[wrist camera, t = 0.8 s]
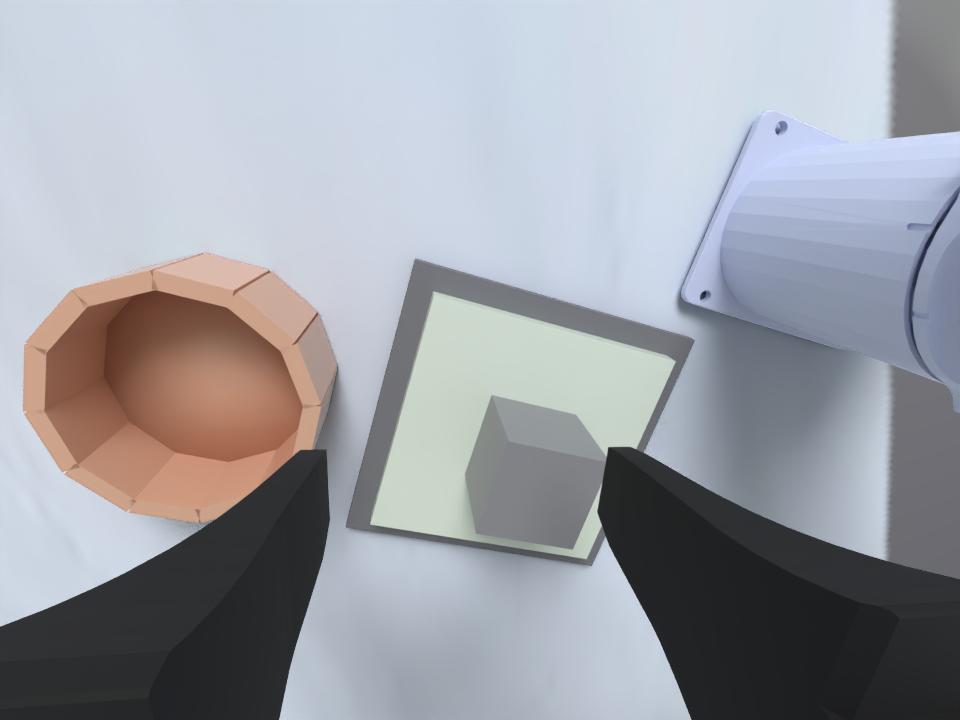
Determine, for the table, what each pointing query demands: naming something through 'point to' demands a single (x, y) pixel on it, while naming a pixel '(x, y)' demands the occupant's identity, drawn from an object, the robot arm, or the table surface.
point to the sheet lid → (512, 428)
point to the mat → (506, 299)
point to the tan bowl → (179, 384)
